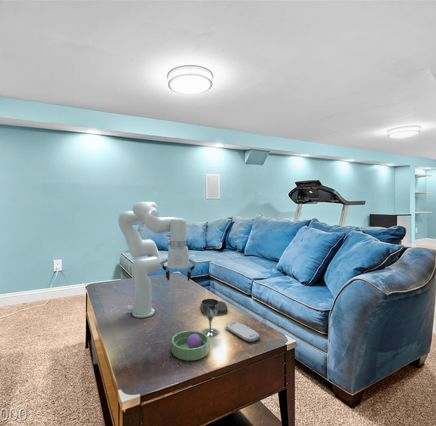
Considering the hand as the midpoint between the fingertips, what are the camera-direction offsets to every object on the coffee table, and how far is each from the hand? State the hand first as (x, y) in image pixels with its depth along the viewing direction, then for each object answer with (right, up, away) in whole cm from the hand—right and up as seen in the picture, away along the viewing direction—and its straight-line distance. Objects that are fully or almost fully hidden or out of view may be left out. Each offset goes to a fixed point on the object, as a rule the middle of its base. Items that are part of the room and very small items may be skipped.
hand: (178, 279), depth 129 cm
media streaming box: (+19, -25, +28) cm, 42 cm away
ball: (+6, -25, -15) cm, 30 cm away
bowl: (+6, -27, -15) cm, 31 cm away
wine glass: (+15, -26, +1) cm, 30 cm away
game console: (+30, -26, 0) cm, 40 cm away
